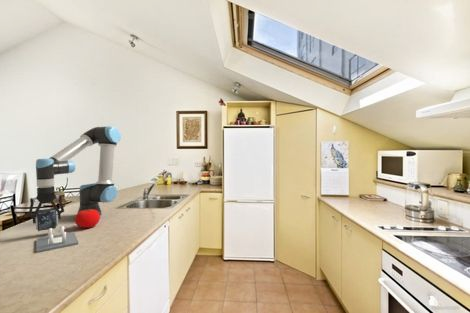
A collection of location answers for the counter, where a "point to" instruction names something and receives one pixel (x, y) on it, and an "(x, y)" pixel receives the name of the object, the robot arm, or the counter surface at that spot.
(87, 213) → the tomato
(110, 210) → the counter surface
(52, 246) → the grey stand base
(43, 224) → the box
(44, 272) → the counter surface
